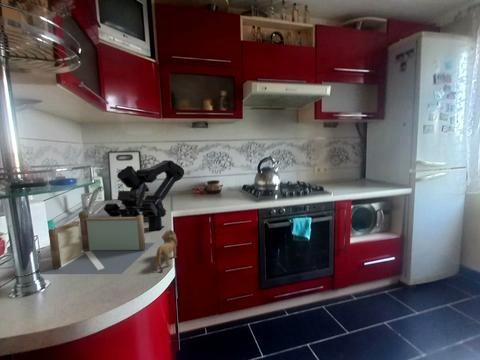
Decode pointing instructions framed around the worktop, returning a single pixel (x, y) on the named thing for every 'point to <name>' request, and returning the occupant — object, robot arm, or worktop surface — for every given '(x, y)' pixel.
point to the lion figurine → (166, 248)
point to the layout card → (99, 262)
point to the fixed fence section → (68, 241)
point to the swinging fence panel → (116, 233)
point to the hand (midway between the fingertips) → (124, 229)
